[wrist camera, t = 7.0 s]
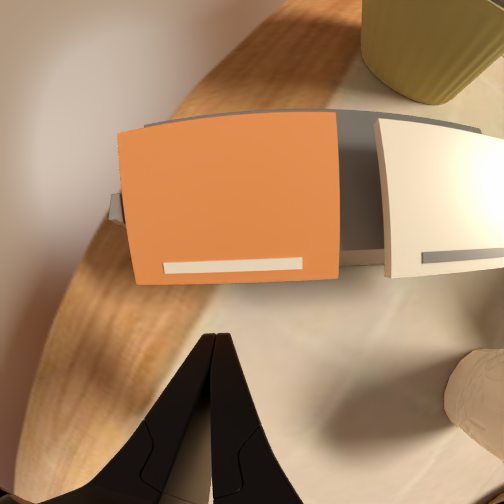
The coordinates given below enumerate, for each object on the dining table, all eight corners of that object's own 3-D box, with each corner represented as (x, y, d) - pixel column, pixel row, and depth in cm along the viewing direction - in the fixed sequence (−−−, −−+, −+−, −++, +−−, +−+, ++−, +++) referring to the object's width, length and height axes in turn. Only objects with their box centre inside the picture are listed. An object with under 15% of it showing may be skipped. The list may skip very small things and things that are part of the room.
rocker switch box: (497, 258, 18) (567, 237, 9) (172, 275, 20) (105, 255, 11) (479, 170, 20) (535, 126, 11) (176, 169, 21) (128, 102, 13)
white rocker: (513, 263, 11) (522, 265, 10) (384, 276, 12) (391, 278, 11) (502, 144, 11) (511, 141, 10) (373, 124, 12) (379, 117, 11)
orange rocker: (334, 272, 13) (338, 279, 12) (143, 278, 14) (135, 285, 13) (331, 115, 11) (336, 112, 10) (125, 134, 12) (116, 133, 11)
